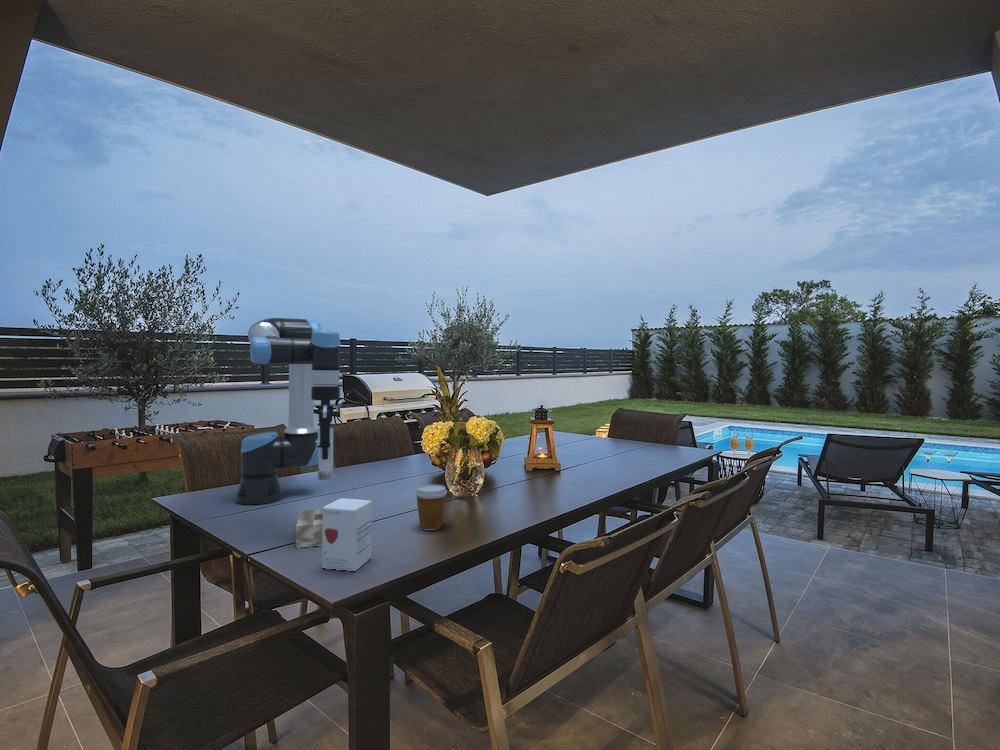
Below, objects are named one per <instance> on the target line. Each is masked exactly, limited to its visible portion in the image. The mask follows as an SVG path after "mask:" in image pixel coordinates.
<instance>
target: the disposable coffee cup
mask: <svg viewBox="0 0 1000 750" xmlns="http://www.w3.org/2000/svg"><path fill="white" fill-rule="evenodd" d="M447 493H448V490H447V489H446V487H445V485H441V484H423V485H419V486H417V487H416V490H415V492H414V494H415V496H416V502H417V503H416V505H417V510H418V511H417V512H418V520H419V522H418V523H419V528H422V529H436V528H439V527H441V528H442V523H443V516H444V510H445V501H446V496H447ZM422 529H421V530H422Z"/></svg>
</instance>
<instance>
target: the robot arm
mask: <svg viewBox="0 0 1000 750" xmlns="http://www.w3.org/2000/svg"><path fill="white" fill-rule="evenodd" d="M340 336H341V335H340V333H339V331H338V330H331V329H329V330H328V329H323V328H322V325H321V324H320V322H319V321H318V320H315V319H309V318H287V317H286V318H283V317H281V318H280V317H269V318H265V319H262V320H259V321H257V322H255V323H254V324H252V325H251V326H250V327H249V329H248V333H247V337H248V342H249V343H250V344H249V345H250V346H249V349H250V350H249V351H250V352H249V353H250V354H249V355H250V362H251V363H252V364H257V365H258V364H259V365H260V364H261V365H275V364H276V365H288V426H287V427H286V428H285V429H284V430H283V435H280V436H279V433H277V432H275V431H270V432H269V431H268V432H262V433H261V432H260V433H255V434H252V435H249V436H246V437H244V438H243V439H242V440H241V448H240V453H241V460H240V461H241V465H240V466H241V472H240V473H241V474H240V476H241V478H240V482H239V485H238V488H237V490H236V494H235V503H236V504H238V503H239V504H238V505H244V504H247V505H248V506H250V505H252V504H257V505H264V504H265V503H266V504H271V503H275V502H278V501H280V500H282V498H283V496H284V495H283V494H284V493H283V492H284V491H283V488H282V486H281V482H280V481H279V477H278V469H287V468H300V467H301V468H307V467H310V466H315V465H318V448H320V471H330V428H332V422H333V412H334V406H333V405H331V401H338V400H340V399H341V396H340V395H341V391H340V390H341V388H340V386H338V385H340V378H342V377H343V374H342V373H340V372H341V371H340V367H341V358H340V357H341V345H342V344H341V339H340ZM315 401H320V405H319V406H318V407H317V413H318V423H319V428H320V445H318V428H317V427H316V426H314V418H315V417H314V416H315V415H314V414H315V413H314V410H315V408H314V406H315V405H314V403H315ZM247 505H246V506H247ZM252 506H253V505H252Z"/></svg>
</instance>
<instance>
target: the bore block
mask: <svg viewBox="0 0 1000 750" xmlns="http://www.w3.org/2000/svg"><path fill="white" fill-rule="evenodd" d="M322 522H323V509H311V510H310V509H309V510H301V511H300V512H299V515H298V519H297V523H296V525H295V548H296V547H304V546H316V545H322Z"/></svg>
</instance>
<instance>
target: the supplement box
mask: <svg viewBox="0 0 1000 750" xmlns="http://www.w3.org/2000/svg"><path fill="white" fill-rule="evenodd" d="M322 510H323V522H322V546H321V548H322V549H321V550H322V552H321V569H322V568H325V569H324V570H331V569H336V570H335V571H340V570H349V571H356V570H357V569H358V570H360V569H361V568H362V567H363V566H364V565H365V564H364V563H366V562H367V561H368V560H369V559H370V558H371V559H372V539H373V537H372V535H373V534H372V532H373V531H372V530H373V528H372V526H373V525H372V524H373V522H372V521H373V500H367V499H358V498H357V499H356V498H355V499H354V498H342V497H341V498H339V499H336V500H335V501H332V502H331V503H329V504H327V505H324V506H323V507H322ZM371 559H370V560H371ZM370 560H369V561H370ZM369 561H368V562H369ZM368 562H367V563H368ZM367 563H366V564H367ZM363 564H364V565H363ZM362 565H363V566H362ZM361 566H362V567H361ZM360 567H361V568H360ZM359 568H360V569H359ZM358 570H357V571H358ZM349 571H348V572H349ZM357 571H356V572H357Z"/></svg>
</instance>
